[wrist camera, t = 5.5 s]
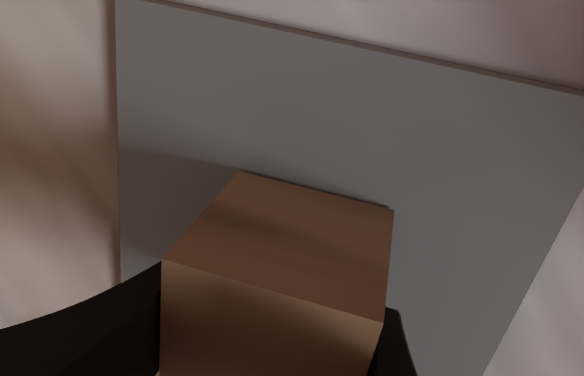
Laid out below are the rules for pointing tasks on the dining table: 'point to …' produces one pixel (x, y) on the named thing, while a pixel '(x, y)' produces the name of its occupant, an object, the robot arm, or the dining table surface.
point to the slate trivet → (351, 158)
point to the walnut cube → (275, 284)
